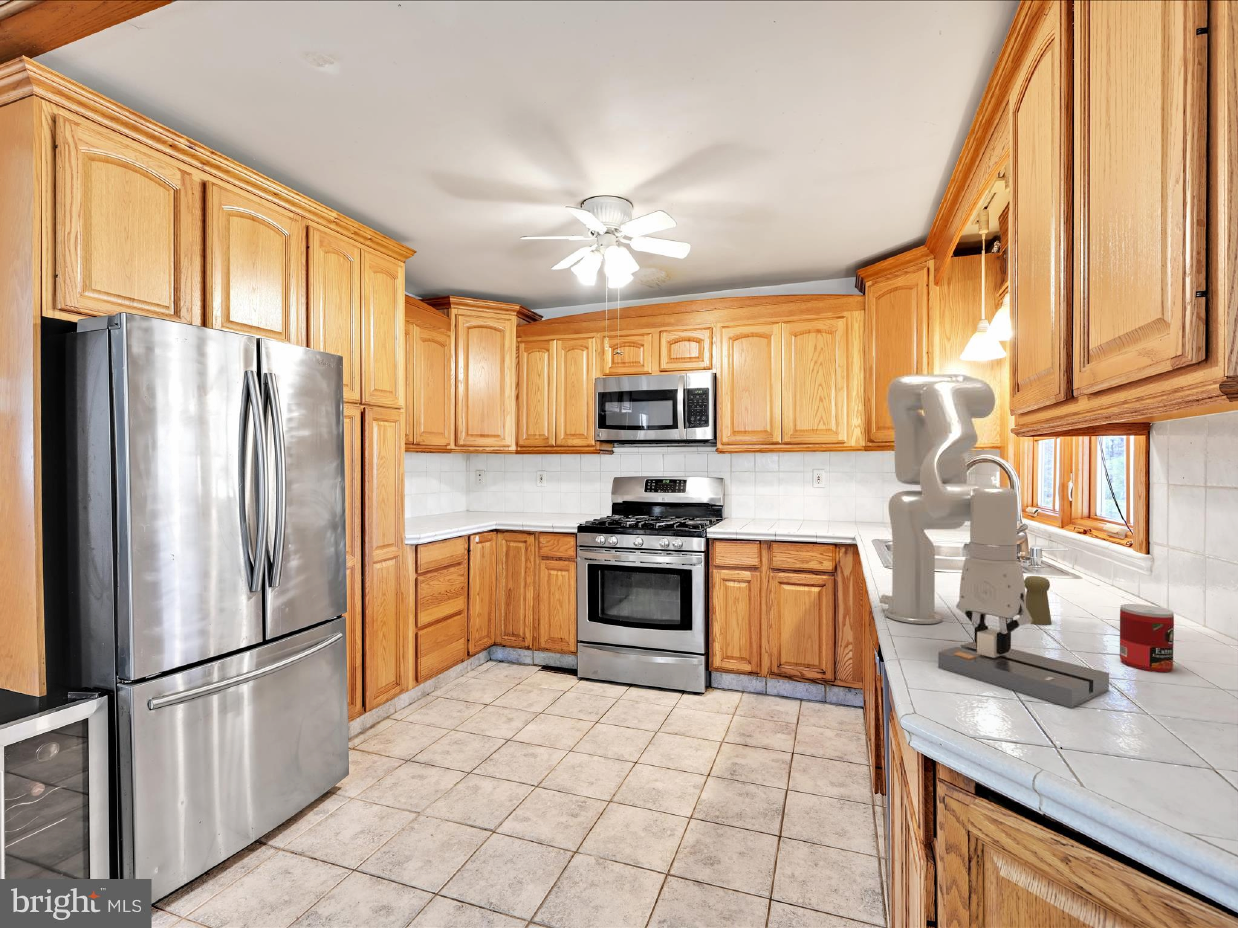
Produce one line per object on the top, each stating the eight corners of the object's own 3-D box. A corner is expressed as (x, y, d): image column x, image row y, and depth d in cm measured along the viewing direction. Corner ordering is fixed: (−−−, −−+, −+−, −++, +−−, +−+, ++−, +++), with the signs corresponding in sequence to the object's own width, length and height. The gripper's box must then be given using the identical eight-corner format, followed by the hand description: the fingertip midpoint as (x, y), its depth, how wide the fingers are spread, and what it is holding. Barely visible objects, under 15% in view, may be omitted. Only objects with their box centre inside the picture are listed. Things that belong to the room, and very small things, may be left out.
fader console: (938, 667, 116) (938, 650, 116) (977, 654, 124) (977, 639, 124) (1071, 708, 98) (1072, 688, 98) (1108, 690, 105) (1109, 671, 105)
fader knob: (976, 663, 115) (977, 632, 115) (990, 659, 117) (991, 628, 117) (993, 668, 112) (993, 636, 112) (1007, 663, 115) (1007, 631, 115)
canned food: (1159, 675, 112) (1160, 615, 112) (1110, 661, 120) (1110, 605, 119) (1182, 669, 115) (1183, 611, 115) (1132, 656, 123) (1133, 602, 123)
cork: (1056, 625, 144) (1057, 579, 144) (1028, 624, 146) (1028, 578, 146) (1044, 619, 150) (1044, 574, 150) (1017, 617, 152) (1017, 573, 151)
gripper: (939, 548, 119) (938, 642, 120) (1031, 561, 106) (1030, 666, 106) (960, 545, 123) (959, 636, 124) (1051, 557, 110) (1050, 659, 110)
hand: (992, 649), depth 115 cm, fingers closed on fader knob, 3 cm apart
